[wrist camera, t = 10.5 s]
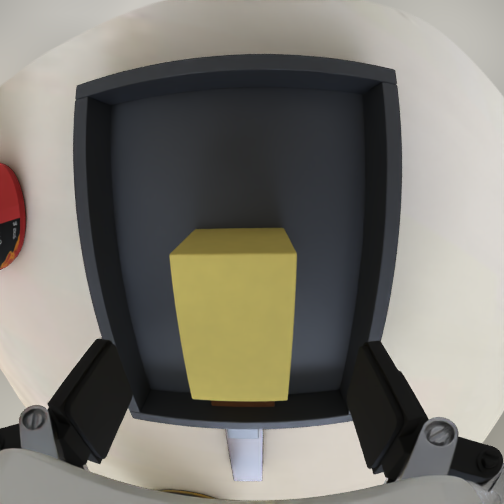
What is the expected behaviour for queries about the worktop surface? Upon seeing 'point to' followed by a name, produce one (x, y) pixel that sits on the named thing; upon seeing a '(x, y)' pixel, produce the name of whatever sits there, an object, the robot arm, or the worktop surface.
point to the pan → (240, 213)
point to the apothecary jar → (187, 493)
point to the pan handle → (245, 453)
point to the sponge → (236, 312)
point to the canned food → (10, 216)
